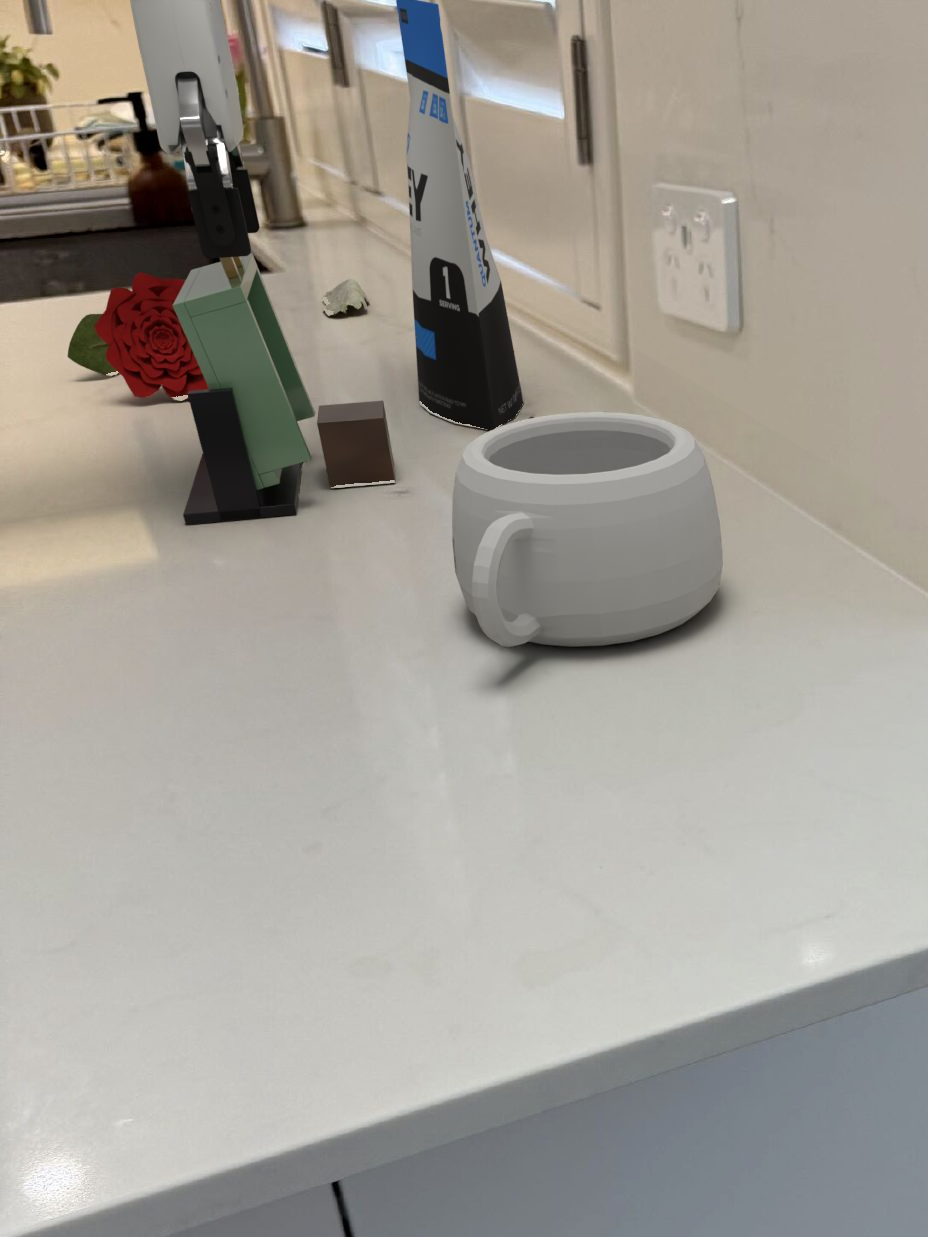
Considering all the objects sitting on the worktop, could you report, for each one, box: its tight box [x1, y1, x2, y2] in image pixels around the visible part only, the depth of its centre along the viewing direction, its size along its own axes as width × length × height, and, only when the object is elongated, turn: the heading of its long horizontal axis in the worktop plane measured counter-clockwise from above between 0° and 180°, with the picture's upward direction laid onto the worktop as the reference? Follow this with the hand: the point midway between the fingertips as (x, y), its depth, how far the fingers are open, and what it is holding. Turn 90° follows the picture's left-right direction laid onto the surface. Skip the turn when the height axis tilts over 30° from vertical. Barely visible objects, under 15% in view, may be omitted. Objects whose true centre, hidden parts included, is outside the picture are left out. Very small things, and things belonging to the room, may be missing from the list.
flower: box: [67, 271, 209, 399], centre depth 136 cm, size 16×11×30 cm
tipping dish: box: [173, 208, 316, 490], centre depth 99 cm, size 18×13×5 cm
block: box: [316, 400, 396, 488], centre depth 106 cm, size 5×5×5 cm
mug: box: [451, 411, 724, 648], centre depth 81 cm, size 21×17×10 cm
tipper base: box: [182, 388, 303, 526], centre depth 103 cm, size 8×16×9 cm, turn 13°
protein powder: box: [395, 0, 524, 431], centre depth 116 cm, size 10×24×30 cm, turn 19°
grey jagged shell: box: [322, 278, 370, 315], centre depth 158 cm, size 12×5×4 cm
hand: (233, 244), depth 96 cm, fingers open, 9 cm apart
